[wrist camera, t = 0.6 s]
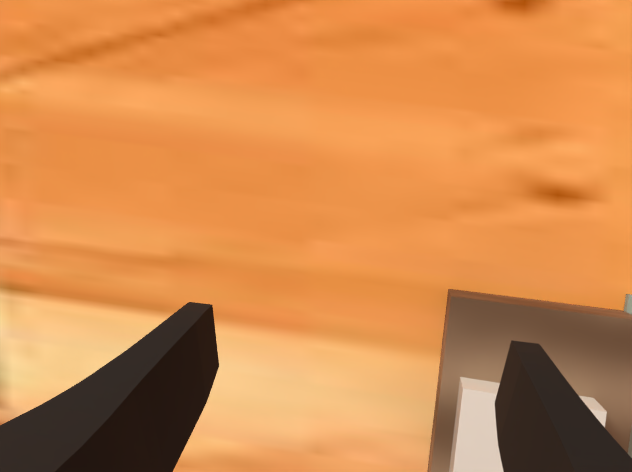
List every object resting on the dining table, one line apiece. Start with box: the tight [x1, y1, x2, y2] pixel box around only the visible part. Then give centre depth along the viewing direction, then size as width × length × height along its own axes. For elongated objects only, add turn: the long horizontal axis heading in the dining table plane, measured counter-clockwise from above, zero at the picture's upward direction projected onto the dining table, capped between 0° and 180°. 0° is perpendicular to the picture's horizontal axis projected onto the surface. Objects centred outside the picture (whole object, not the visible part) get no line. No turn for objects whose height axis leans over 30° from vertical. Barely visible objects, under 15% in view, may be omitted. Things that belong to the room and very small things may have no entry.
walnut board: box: [428, 289, 632, 472], centre depth 30 cm, size 16×10×3 cm, turn 174°
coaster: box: [449, 377, 607, 472], centre depth 27 cm, size 7×7×2 cm
